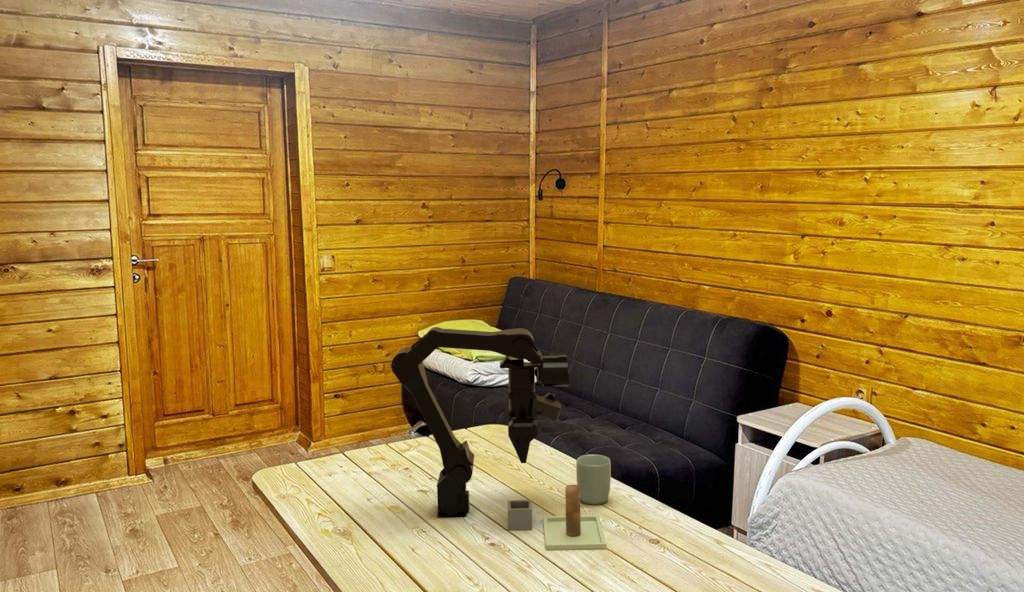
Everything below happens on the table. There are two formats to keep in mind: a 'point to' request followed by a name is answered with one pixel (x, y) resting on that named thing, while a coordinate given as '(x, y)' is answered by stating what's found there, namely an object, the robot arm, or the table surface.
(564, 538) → the tray
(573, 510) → the dowel
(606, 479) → the cup
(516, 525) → the pen cup
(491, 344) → the robot arm
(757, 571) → the table surface
